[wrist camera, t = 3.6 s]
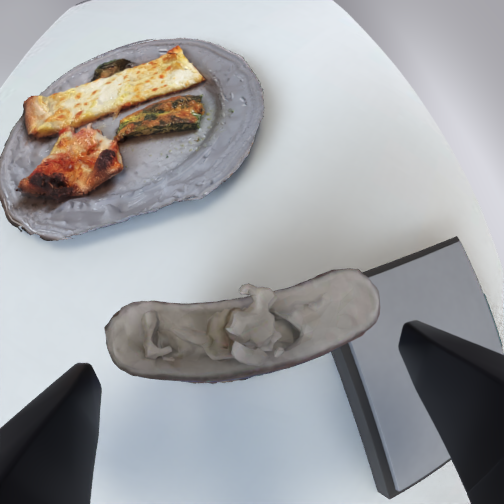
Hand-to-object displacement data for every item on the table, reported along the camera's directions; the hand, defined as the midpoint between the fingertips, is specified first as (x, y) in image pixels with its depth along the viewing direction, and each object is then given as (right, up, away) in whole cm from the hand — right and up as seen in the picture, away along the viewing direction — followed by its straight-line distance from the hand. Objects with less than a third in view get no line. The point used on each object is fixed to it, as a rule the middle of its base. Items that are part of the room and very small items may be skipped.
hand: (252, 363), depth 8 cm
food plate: (-12, +14, +16) cm, 25 cm away
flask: (-1, -3, +9) cm, 10 cm away
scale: (+11, -4, +9) cm, 15 cm away
